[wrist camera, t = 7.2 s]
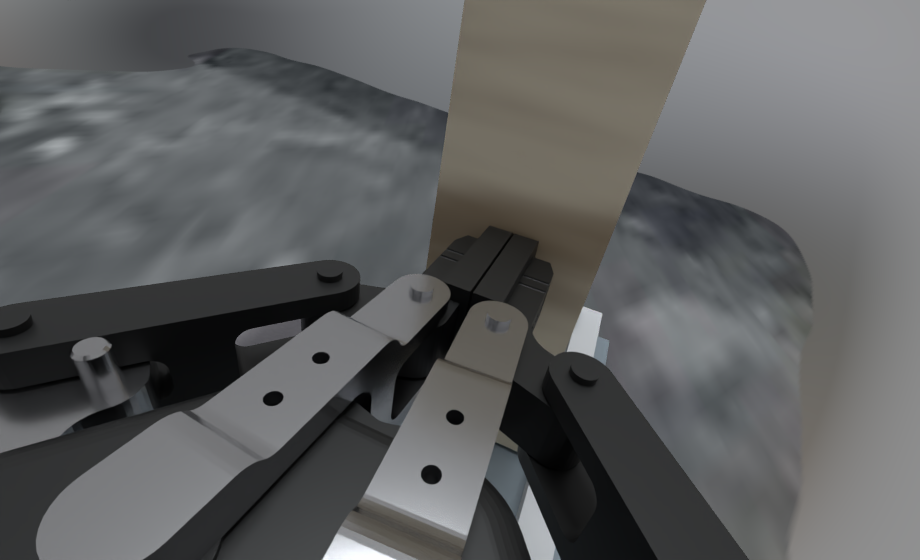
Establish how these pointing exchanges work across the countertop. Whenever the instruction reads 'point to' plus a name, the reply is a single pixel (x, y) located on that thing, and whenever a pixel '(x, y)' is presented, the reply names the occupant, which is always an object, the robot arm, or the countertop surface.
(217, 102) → the countertop surface
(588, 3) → the block
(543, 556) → the chute
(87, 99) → the countertop surface
